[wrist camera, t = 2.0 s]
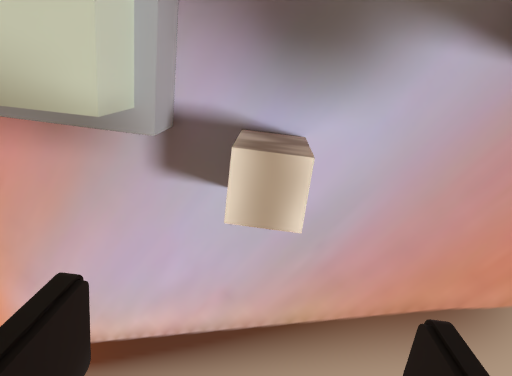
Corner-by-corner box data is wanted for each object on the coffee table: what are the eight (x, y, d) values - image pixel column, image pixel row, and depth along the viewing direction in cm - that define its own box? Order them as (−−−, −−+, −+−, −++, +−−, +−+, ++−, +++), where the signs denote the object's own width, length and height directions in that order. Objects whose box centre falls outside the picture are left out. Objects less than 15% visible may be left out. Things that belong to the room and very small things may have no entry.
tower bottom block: (182, -47, 25) (160, -74, 20) (174, 125, 29) (154, 136, 24) (13, -67, 25) (-48, -99, 20) (27, 106, 29) (-22, 113, 24)
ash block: (305, 137, 28) (314, 157, 21) (295, 197, 30) (301, 233, 23) (242, 129, 28) (231, 147, 21) (235, 189, 30) (224, 223, 23)
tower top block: (133, -51, 21) (91, -88, 16) (134, 107, 23) (98, 116, 19) (-19, -67, 21) (-106, -108, 16) (-1, 92, 24) (-70, 97, 19)
